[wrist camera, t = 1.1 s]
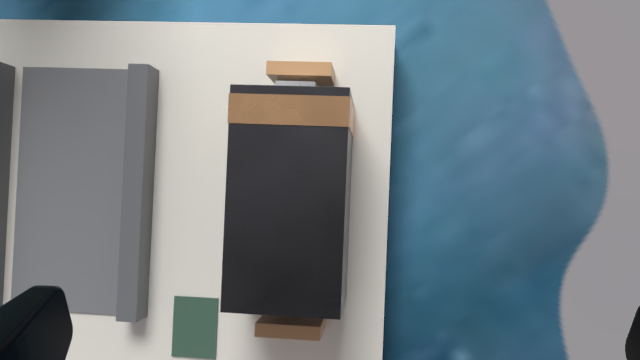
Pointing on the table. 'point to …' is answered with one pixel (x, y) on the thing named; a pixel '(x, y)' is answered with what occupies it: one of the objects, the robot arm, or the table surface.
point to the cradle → (173, 180)
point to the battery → (287, 200)
